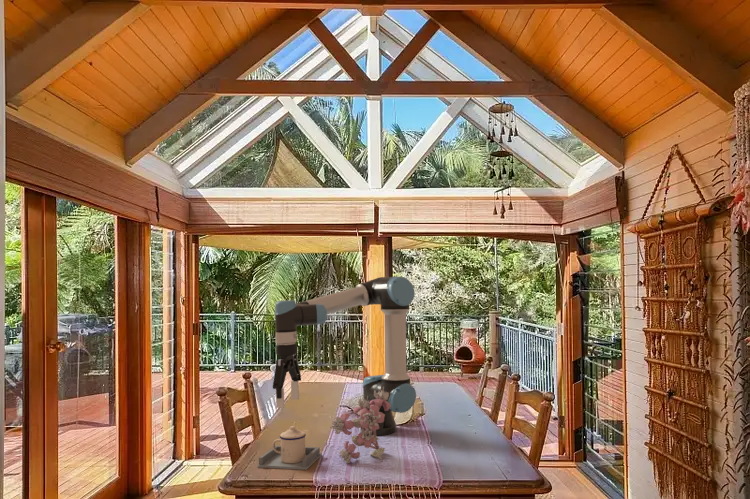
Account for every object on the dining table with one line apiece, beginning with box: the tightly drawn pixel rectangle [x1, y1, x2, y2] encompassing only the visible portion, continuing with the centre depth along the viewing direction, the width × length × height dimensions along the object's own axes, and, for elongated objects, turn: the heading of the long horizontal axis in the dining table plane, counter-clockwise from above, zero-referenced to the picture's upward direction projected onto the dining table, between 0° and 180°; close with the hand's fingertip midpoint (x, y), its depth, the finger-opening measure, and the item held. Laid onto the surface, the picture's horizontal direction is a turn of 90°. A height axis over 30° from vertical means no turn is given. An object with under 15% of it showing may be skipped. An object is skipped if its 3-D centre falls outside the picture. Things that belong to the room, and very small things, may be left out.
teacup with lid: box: [271, 425, 306, 463], centre depth 201 cm, size 12×9×12 cm
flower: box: [329, 387, 391, 464], centre depth 203 cm, size 20×22×25 cm
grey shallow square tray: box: [257, 445, 323, 471], centre depth 202 cm, size 18×16×3 cm
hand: (288, 403), depth 202 cm, fingers open, 13 cm apart
